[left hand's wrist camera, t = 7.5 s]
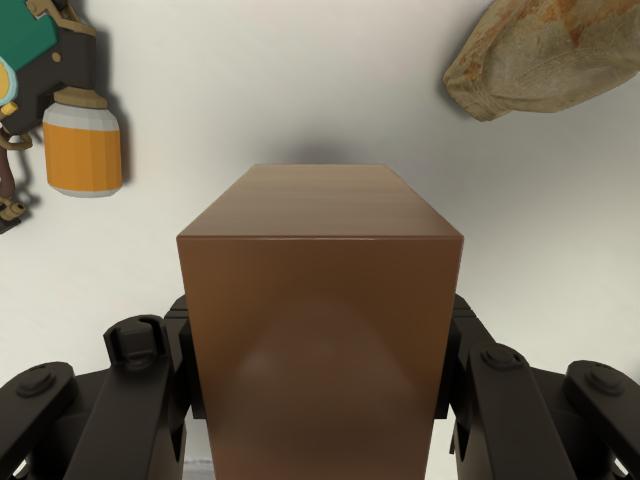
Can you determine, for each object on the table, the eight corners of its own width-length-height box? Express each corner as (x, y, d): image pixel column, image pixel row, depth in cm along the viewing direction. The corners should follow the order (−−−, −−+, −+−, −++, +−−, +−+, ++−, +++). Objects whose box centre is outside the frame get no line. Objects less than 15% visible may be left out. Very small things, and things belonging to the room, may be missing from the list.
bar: (254, 163, 14) (174, 236, 6) (385, 163, 14) (466, 236, 6) (279, 529, 22) (259, 746, 15) (360, 529, 22) (380, 745, 15)
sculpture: (557, 46, 22) (944, -49, 9) (472, 133, 25) (674, 172, 11) (500, -24, 21) (853, -273, 7) (415, 75, 23) (561, 31, 9)
